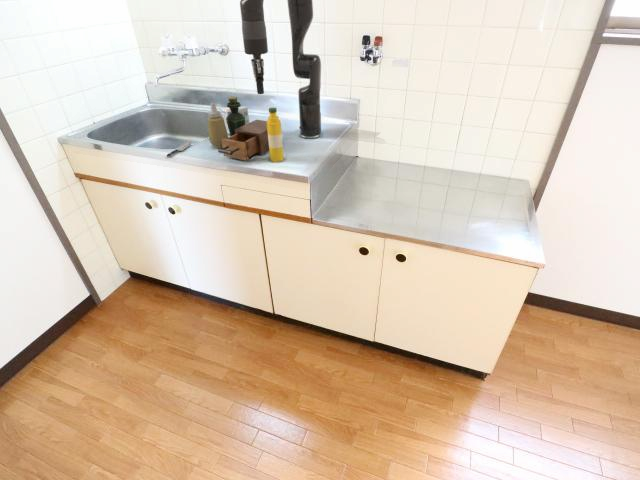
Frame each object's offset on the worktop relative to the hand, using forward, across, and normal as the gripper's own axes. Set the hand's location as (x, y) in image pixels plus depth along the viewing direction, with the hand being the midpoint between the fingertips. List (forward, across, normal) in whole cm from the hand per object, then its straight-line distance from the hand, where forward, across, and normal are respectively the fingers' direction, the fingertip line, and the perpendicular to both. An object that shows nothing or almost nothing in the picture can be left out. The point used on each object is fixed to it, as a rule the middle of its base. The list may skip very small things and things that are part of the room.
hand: (260, 93), depth 128 cm
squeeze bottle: (+26, +24, +18) cm, 40 cm away
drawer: (+25, +9, +10) cm, 28 cm away
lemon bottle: (+26, +4, -4) cm, 27 cm away
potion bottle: (+26, +30, +10) cm, 41 cm away
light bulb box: (+26, +42, +10) cm, 51 cm away
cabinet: (+26, +19, +2) cm, 32 cm away
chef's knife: (+26, +24, +34) cm, 49 cm away
